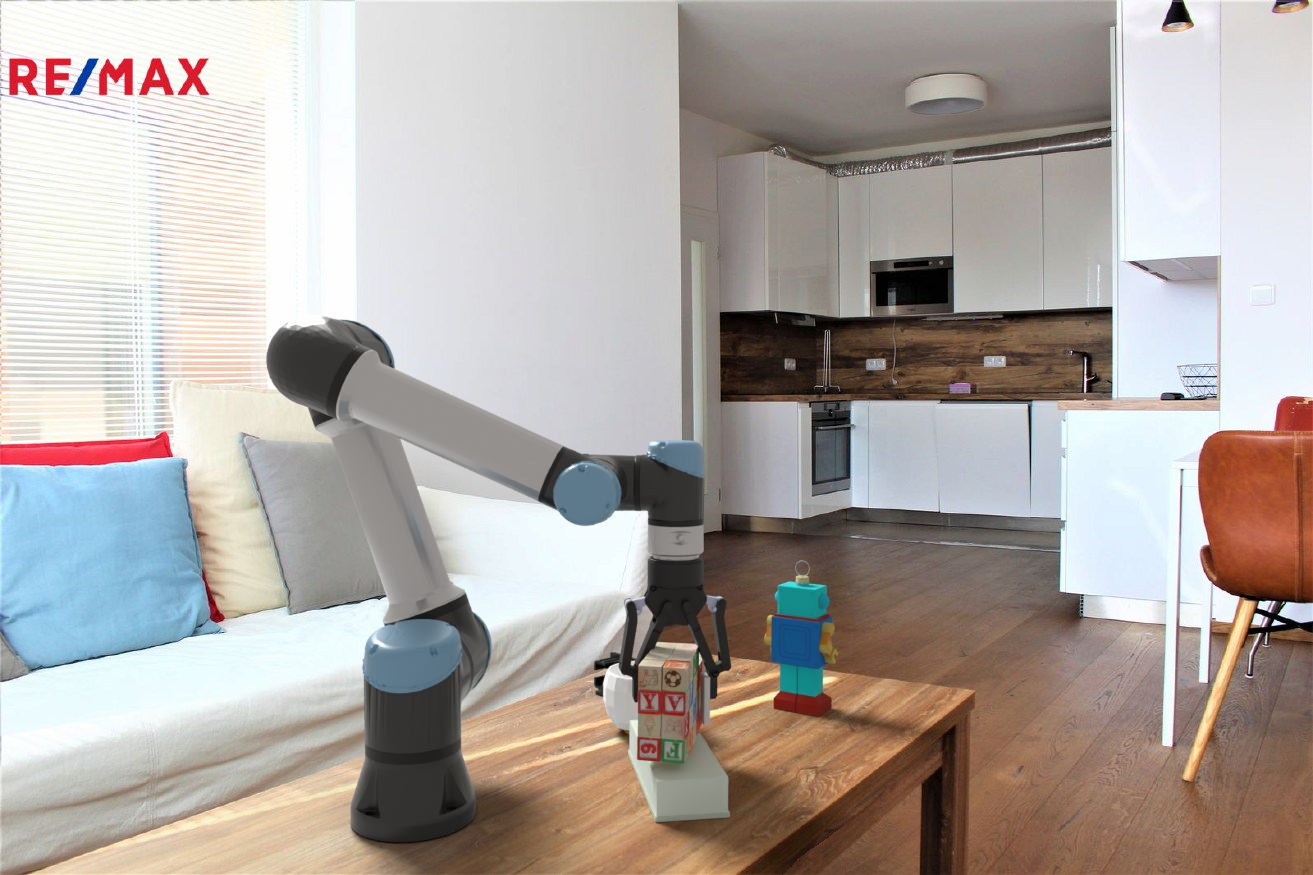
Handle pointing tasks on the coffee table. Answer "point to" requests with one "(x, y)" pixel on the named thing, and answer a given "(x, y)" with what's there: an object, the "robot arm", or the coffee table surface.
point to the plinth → (682, 783)
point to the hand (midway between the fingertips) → (674, 723)
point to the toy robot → (801, 645)
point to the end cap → (606, 664)
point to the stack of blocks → (669, 702)
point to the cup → (619, 698)
